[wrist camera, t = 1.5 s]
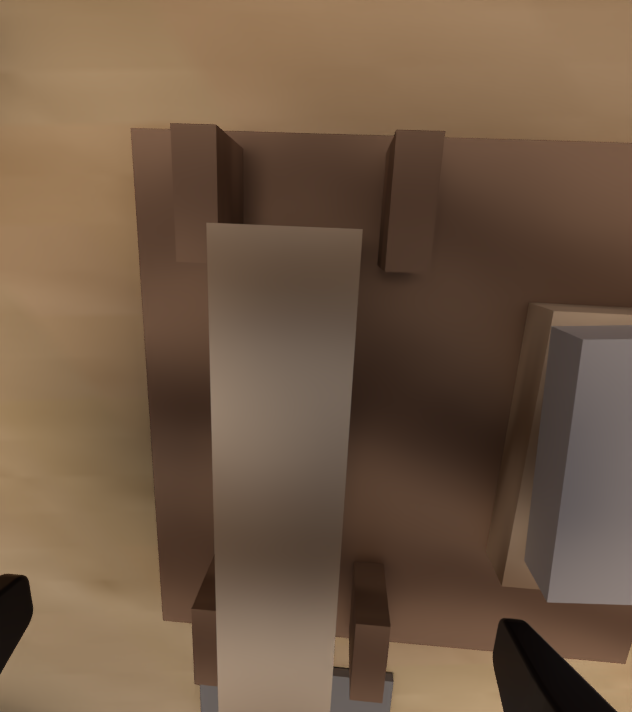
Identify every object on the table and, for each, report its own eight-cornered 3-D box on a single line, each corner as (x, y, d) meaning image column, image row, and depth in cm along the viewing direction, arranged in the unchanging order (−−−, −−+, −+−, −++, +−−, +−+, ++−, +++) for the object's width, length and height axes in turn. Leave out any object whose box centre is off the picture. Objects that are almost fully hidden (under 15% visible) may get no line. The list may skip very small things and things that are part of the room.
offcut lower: (615, 562, 17) (645, 598, 15) (486, 551, 17) (501, 586, 15) (683, 309, 14) (729, 320, 13) (529, 302, 15) (553, 310, 13)
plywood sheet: (333, 579, 18) (326, 760, 12) (262, 573, 18) (219, 748, 12) (355, 233, 14) (362, 229, 8) (266, 229, 15) (206, 222, 8)
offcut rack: (616, 650, 19) (678, 744, 15) (168, 609, 20) (130, 687, 16) (761, 151, 13) (905, 120, 10) (139, 132, 15) (74, 99, 11)
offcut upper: (655, 564, 15) (696, 607, 13) (524, 560, 15) (546, 602, 13) (706, 324, 13) (763, 337, 11) (551, 326, 13) (583, 339, 11)
